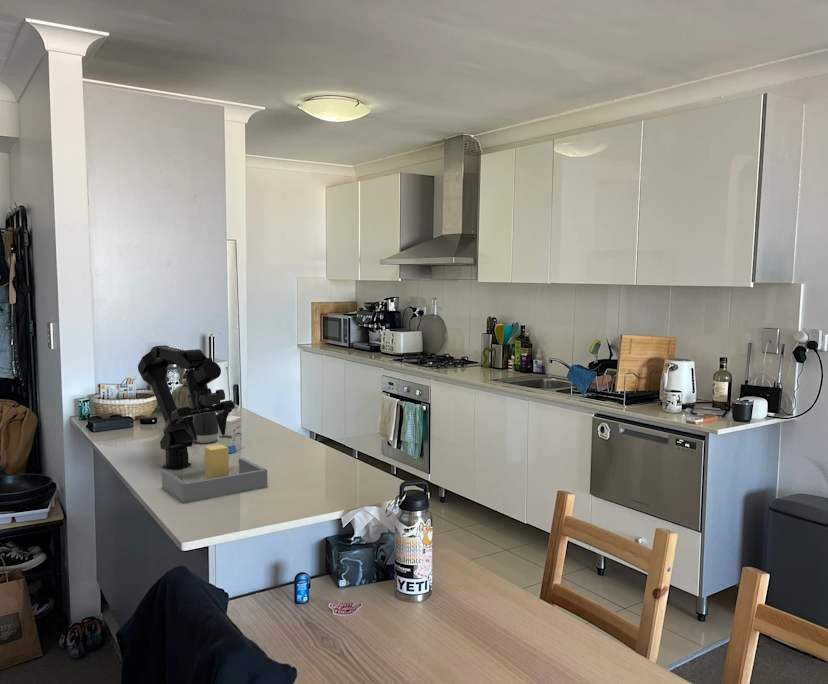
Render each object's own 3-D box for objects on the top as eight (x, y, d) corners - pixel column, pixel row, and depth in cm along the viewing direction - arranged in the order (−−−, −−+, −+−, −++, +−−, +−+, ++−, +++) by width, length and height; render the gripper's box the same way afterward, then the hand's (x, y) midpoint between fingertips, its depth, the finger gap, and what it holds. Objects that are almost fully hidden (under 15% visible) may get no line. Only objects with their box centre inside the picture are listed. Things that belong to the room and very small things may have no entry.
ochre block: (205, 488, 198) (204, 446, 197) (222, 484, 201) (221, 444, 200) (212, 492, 194) (211, 450, 193) (229, 489, 197) (228, 447, 196)
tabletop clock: (194, 433, 273) (192, 370, 271) (171, 433, 273) (169, 370, 271) (205, 425, 287) (204, 365, 285) (184, 425, 288) (182, 365, 285)
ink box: (231, 454, 241) (230, 420, 240) (218, 453, 242) (217, 420, 241) (242, 448, 249) (241, 416, 248) (229, 447, 250) (228, 415, 249)
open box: (162, 491, 198) (161, 470, 198) (242, 476, 213) (242, 457, 212) (183, 506, 185) (182, 484, 184) (267, 490, 199) (267, 469, 199)
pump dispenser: (215, 445, 254) (214, 404, 252) (187, 444, 254) (186, 404, 253) (224, 438, 264) (223, 399, 263) (196, 438, 264) (195, 399, 263)
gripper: (180, 385, 201) (192, 437, 198) (237, 377, 214) (249, 426, 211) (165, 395, 208) (176, 445, 206) (221, 387, 222) (232, 434, 219)
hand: (209, 437), depth 210 cm, fingers open, 9 cm apart
